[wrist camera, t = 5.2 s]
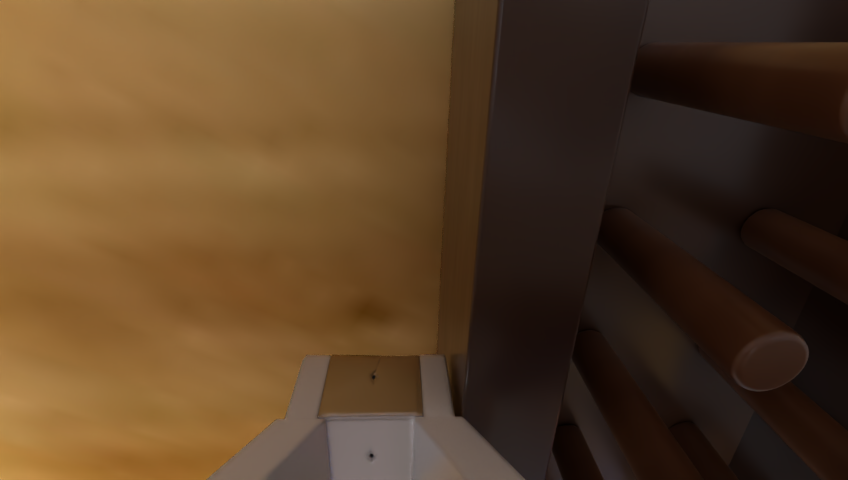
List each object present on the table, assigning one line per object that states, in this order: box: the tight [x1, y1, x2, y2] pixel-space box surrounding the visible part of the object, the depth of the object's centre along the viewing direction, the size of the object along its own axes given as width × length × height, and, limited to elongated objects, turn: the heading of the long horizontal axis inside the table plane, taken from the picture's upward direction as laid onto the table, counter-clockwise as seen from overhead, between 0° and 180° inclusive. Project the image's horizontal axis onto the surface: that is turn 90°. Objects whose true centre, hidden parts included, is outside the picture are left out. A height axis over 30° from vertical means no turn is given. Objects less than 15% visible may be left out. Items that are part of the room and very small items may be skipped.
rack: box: [436, 0, 848, 480], centre depth 9 cm, size 10×16×5 cm, turn 178°
